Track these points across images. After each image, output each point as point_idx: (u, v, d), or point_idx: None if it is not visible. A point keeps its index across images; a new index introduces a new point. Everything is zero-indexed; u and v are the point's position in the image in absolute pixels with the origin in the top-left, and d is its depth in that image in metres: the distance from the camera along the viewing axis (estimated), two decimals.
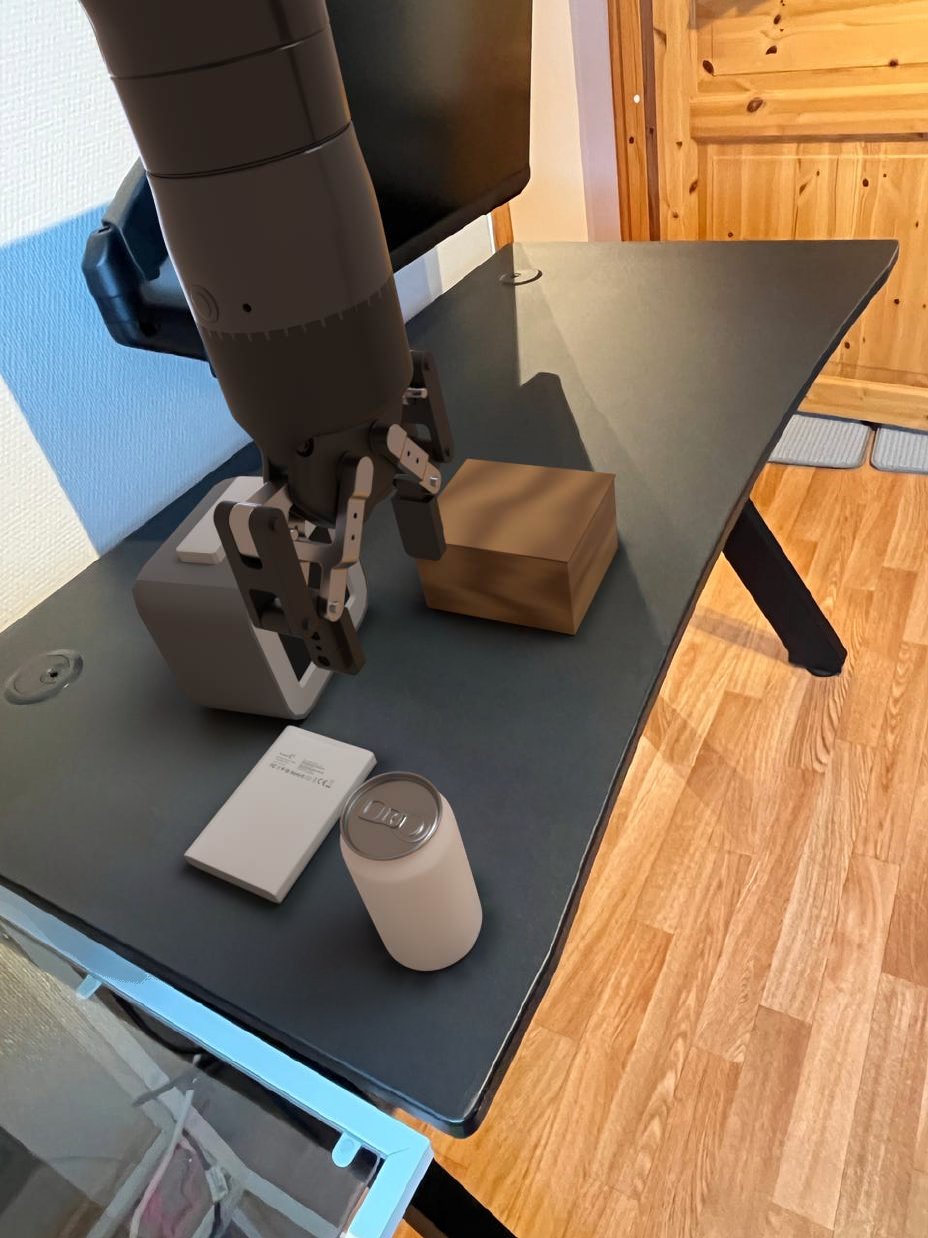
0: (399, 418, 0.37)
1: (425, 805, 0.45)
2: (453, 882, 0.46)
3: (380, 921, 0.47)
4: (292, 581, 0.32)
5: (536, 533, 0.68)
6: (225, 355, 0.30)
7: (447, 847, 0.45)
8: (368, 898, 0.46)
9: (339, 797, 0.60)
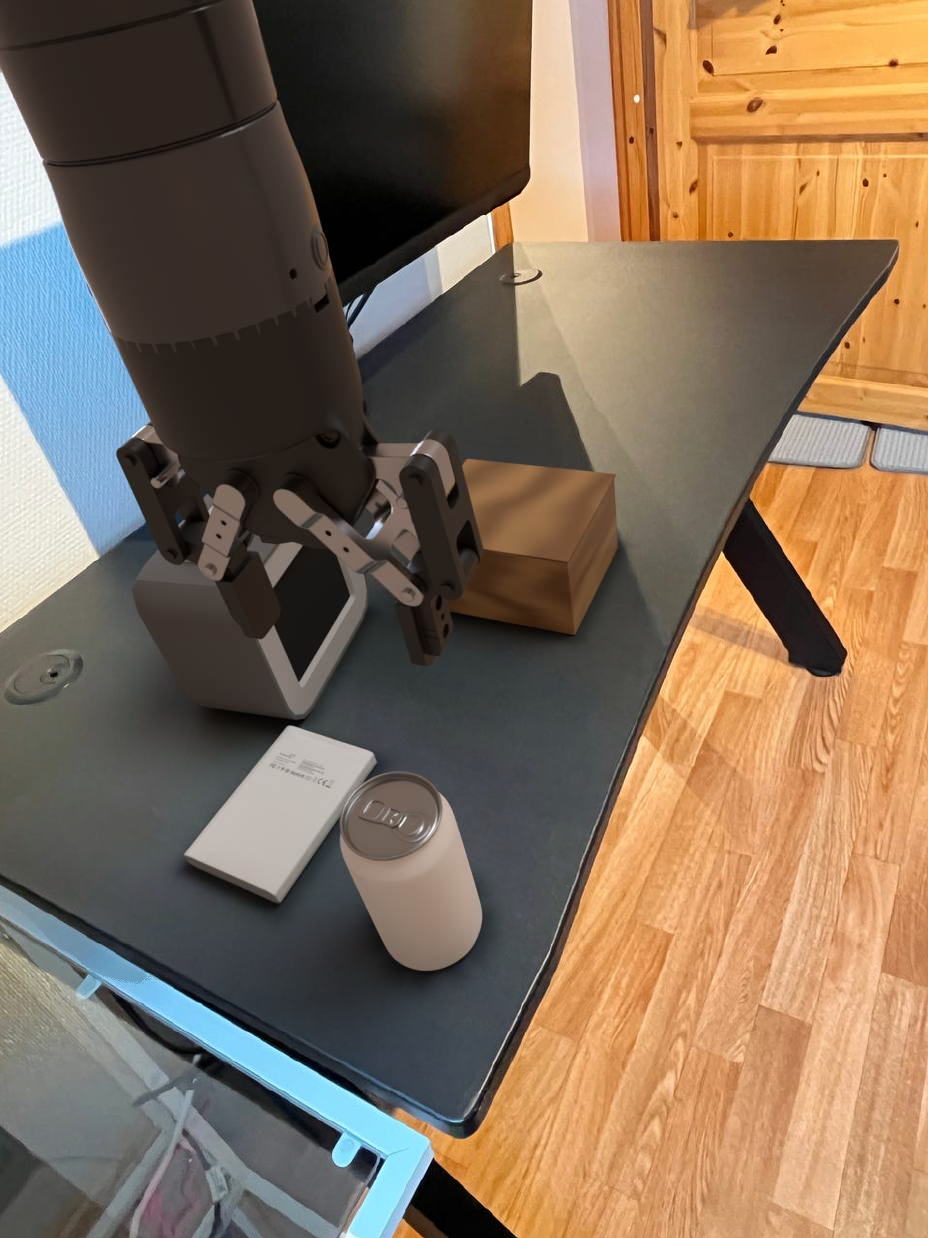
0: (345, 497, 0.30)
1: (425, 805, 0.45)
2: (453, 882, 0.46)
3: (380, 921, 0.47)
4: (150, 512, 0.35)
5: (536, 533, 0.68)
6: None
7: (447, 847, 0.45)
8: (368, 898, 0.46)
9: (339, 797, 0.60)
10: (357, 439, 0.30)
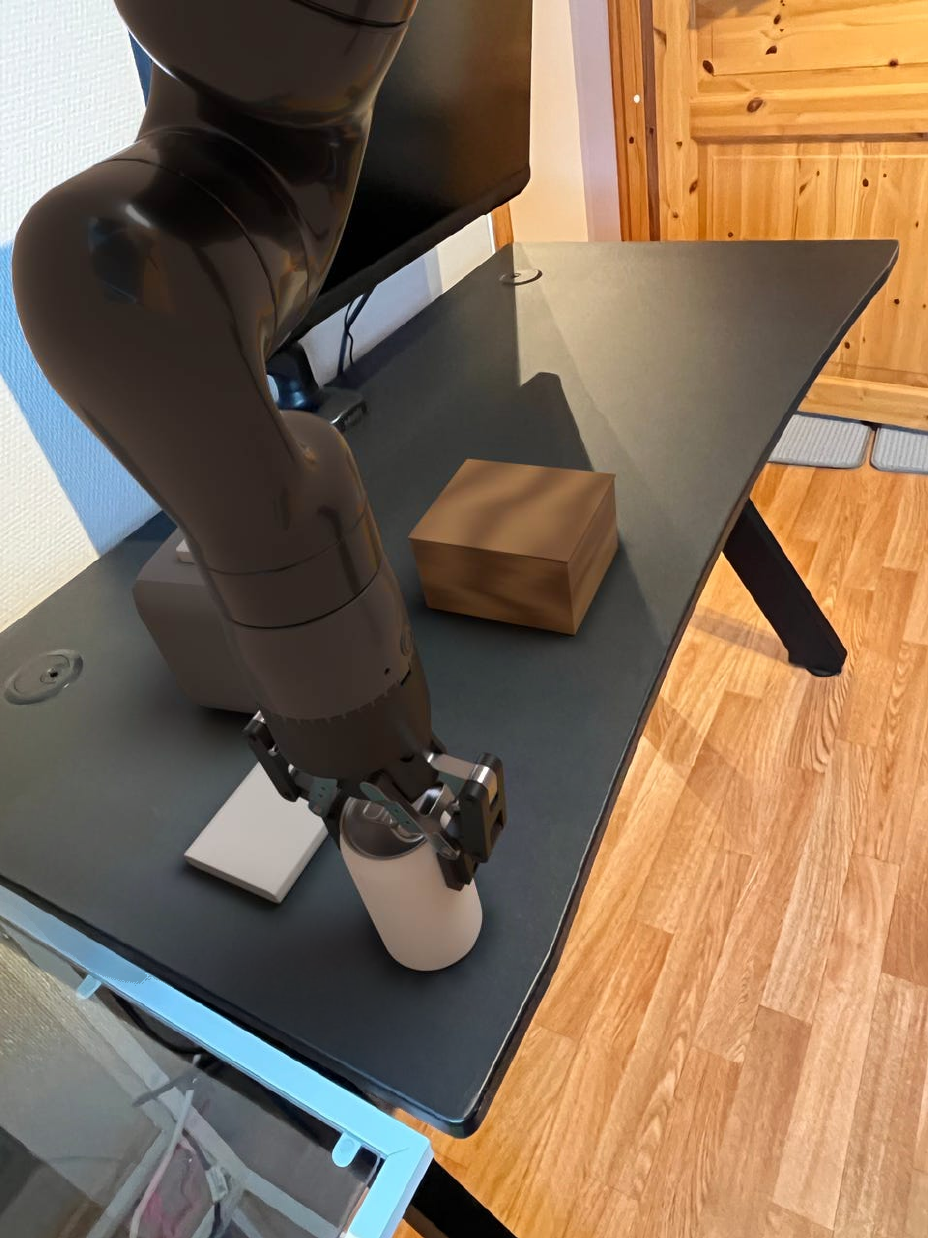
0: (414, 789, 0.40)
1: None
2: None
3: (380, 921, 0.47)
4: (269, 769, 0.45)
5: (536, 533, 0.68)
6: None
7: None
8: (368, 898, 0.46)
9: None
10: (426, 752, 0.39)
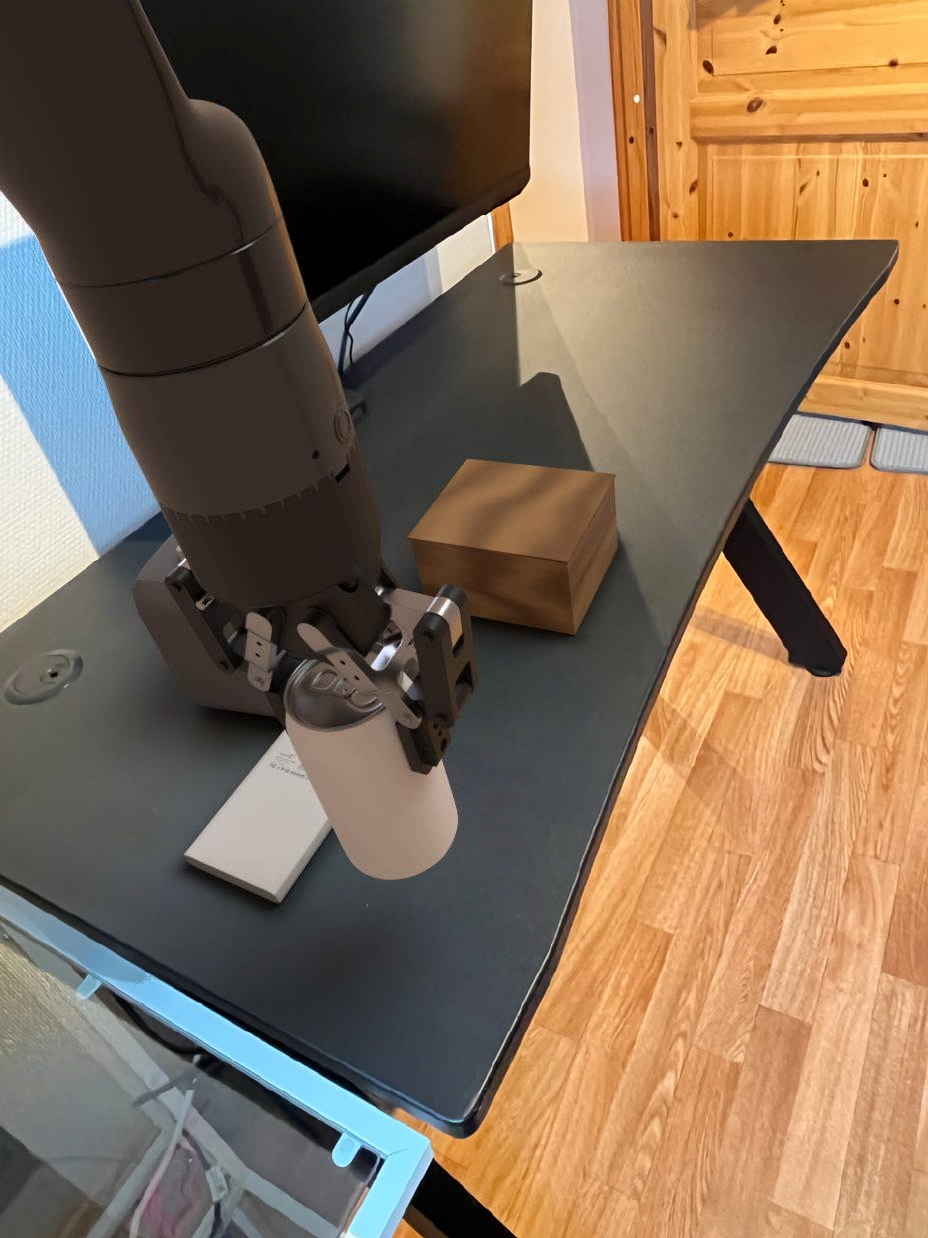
0: (362, 632, 0.33)
1: None
2: None
3: (335, 816, 0.41)
4: (200, 630, 0.38)
5: (536, 533, 0.68)
6: None
7: None
8: (319, 785, 0.39)
9: None
10: (374, 582, 0.32)
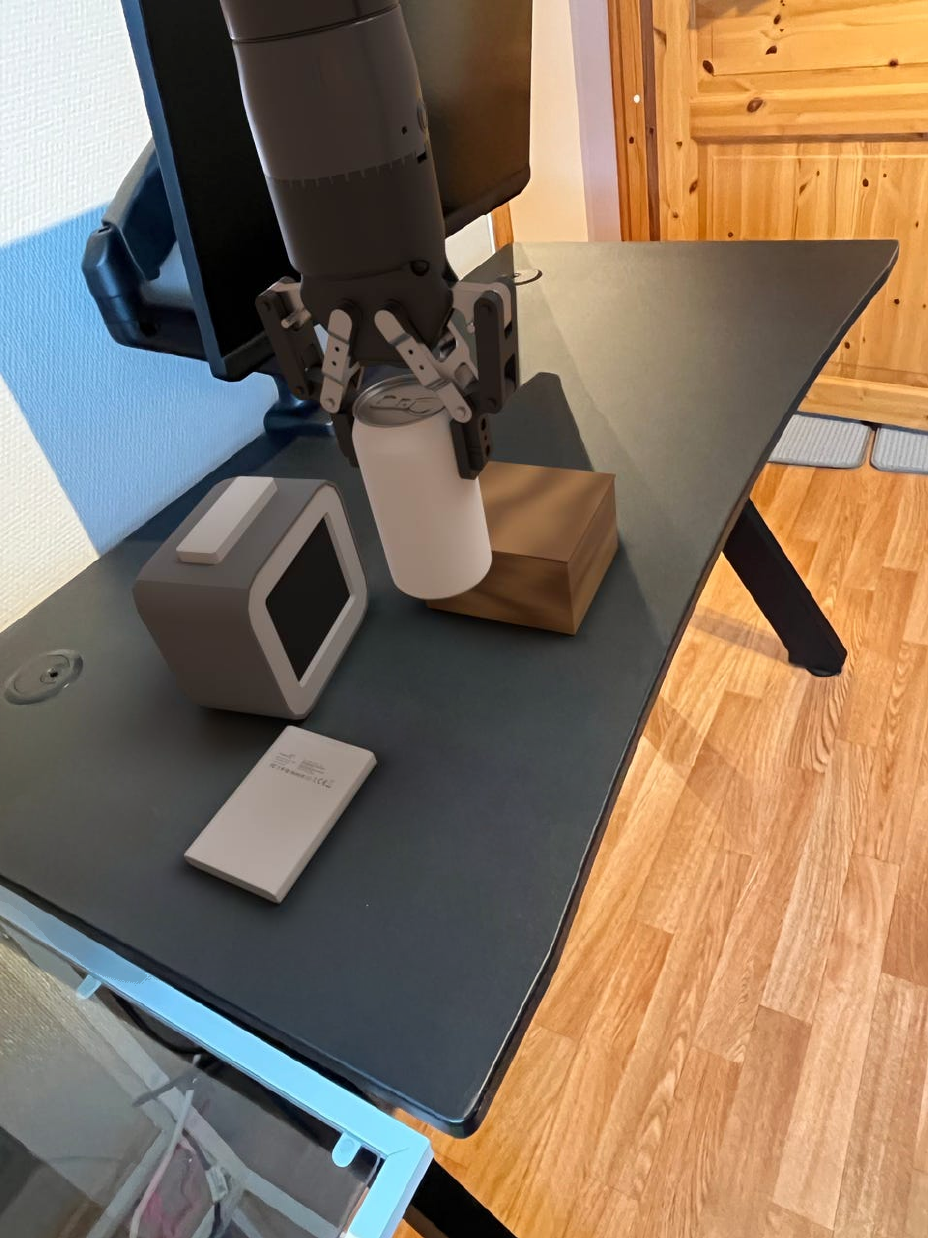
0: (429, 319, 0.40)
1: None
2: None
3: (392, 527, 0.48)
4: (282, 352, 0.45)
5: (536, 533, 0.68)
6: None
7: None
8: (381, 491, 0.46)
9: (339, 797, 0.60)
10: (440, 271, 0.39)
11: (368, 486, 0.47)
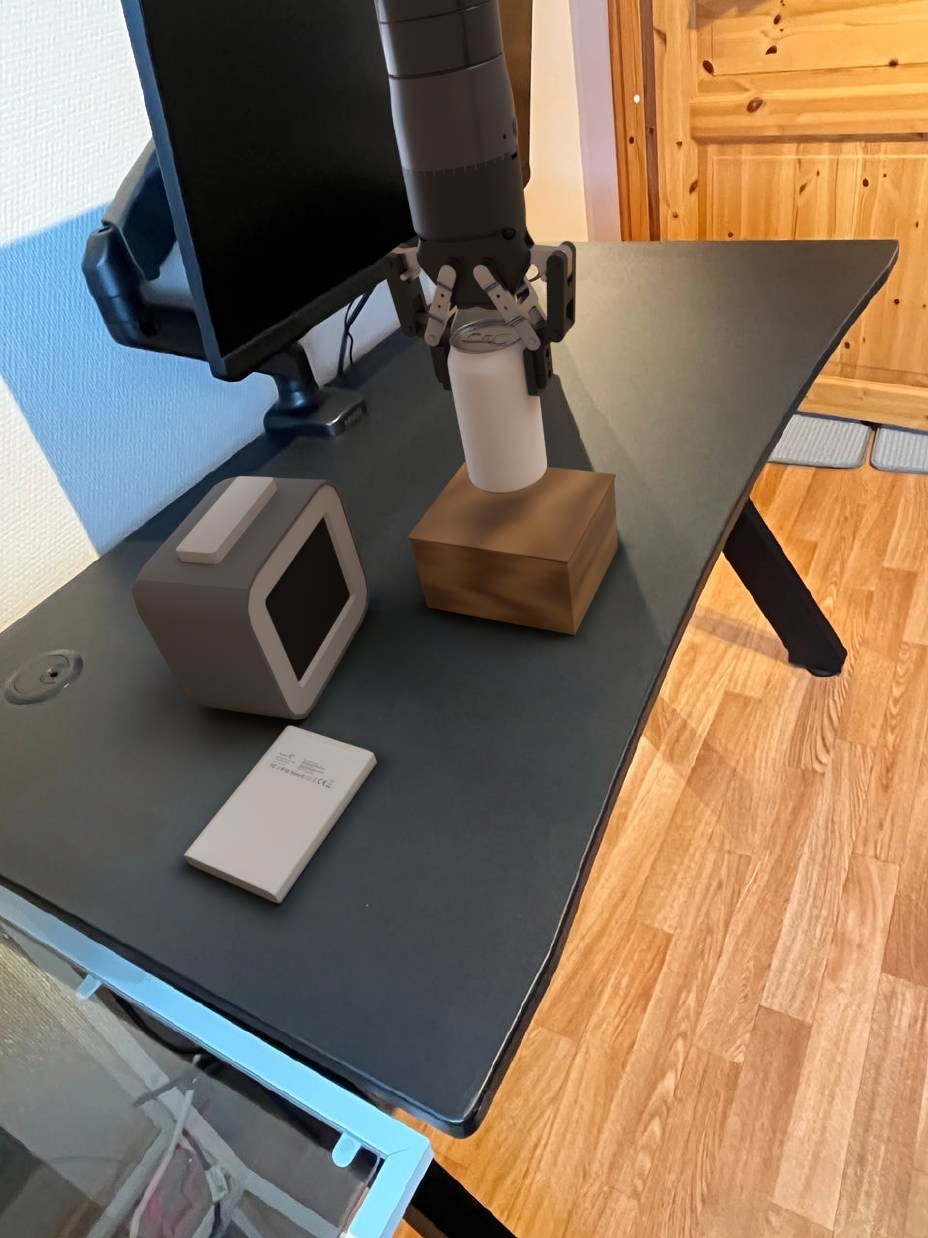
0: (513, 271, 0.56)
1: (511, 331, 0.62)
2: None
3: (475, 433, 0.64)
4: (398, 299, 0.61)
5: (536, 533, 0.68)
6: None
7: None
8: (469, 404, 0.62)
9: (339, 798, 0.60)
10: (522, 237, 0.55)
11: (458, 401, 0.63)
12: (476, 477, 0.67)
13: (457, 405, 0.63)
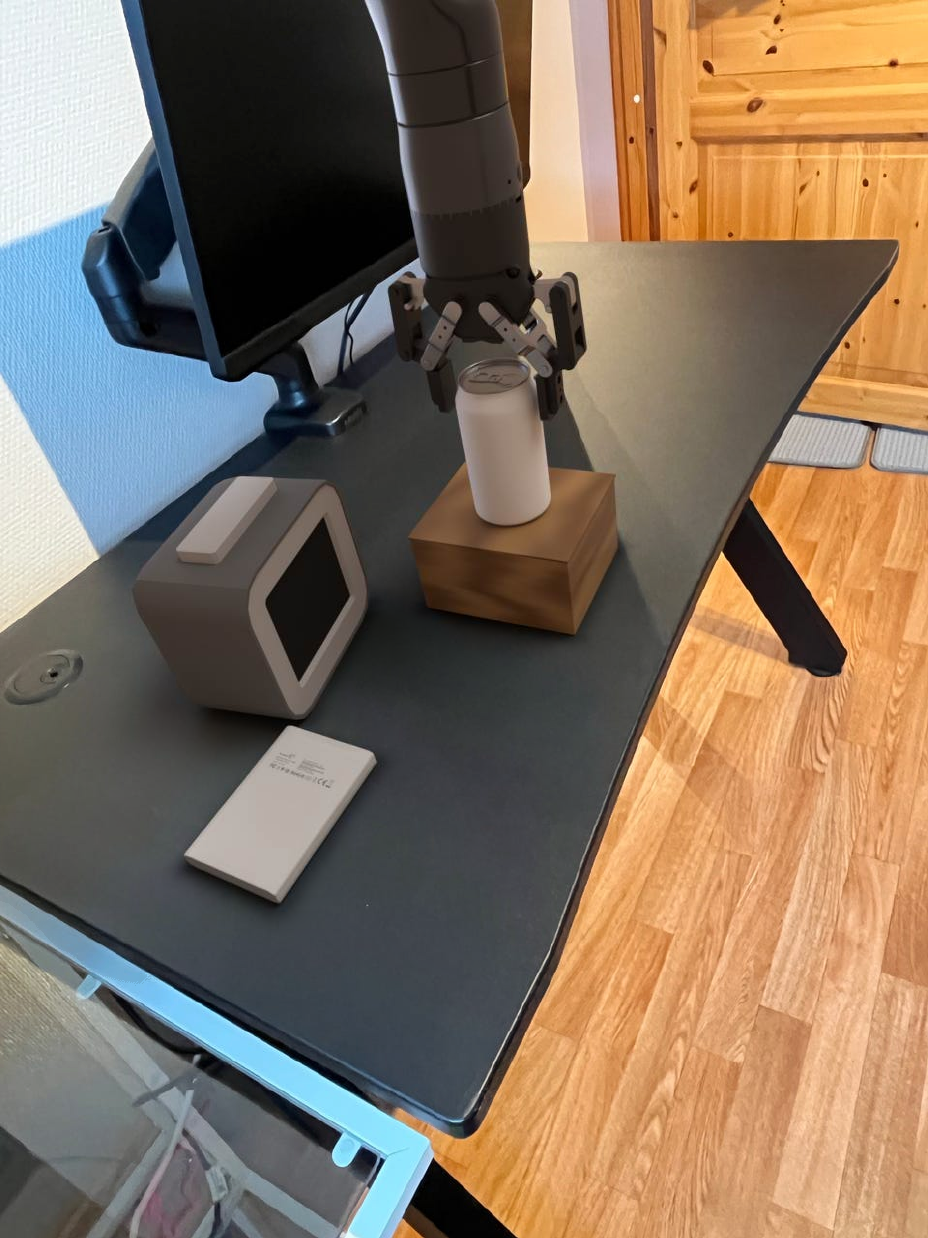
0: (517, 308, 0.58)
1: (517, 371, 0.64)
2: (536, 431, 0.64)
3: (482, 468, 0.66)
4: (399, 326, 0.62)
5: (536, 533, 0.68)
6: None
7: (534, 395, 0.63)
8: (476, 441, 0.64)
9: (339, 797, 0.60)
10: (526, 275, 0.57)
11: (466, 438, 0.65)
12: (482, 510, 0.69)
13: (464, 442, 0.66)
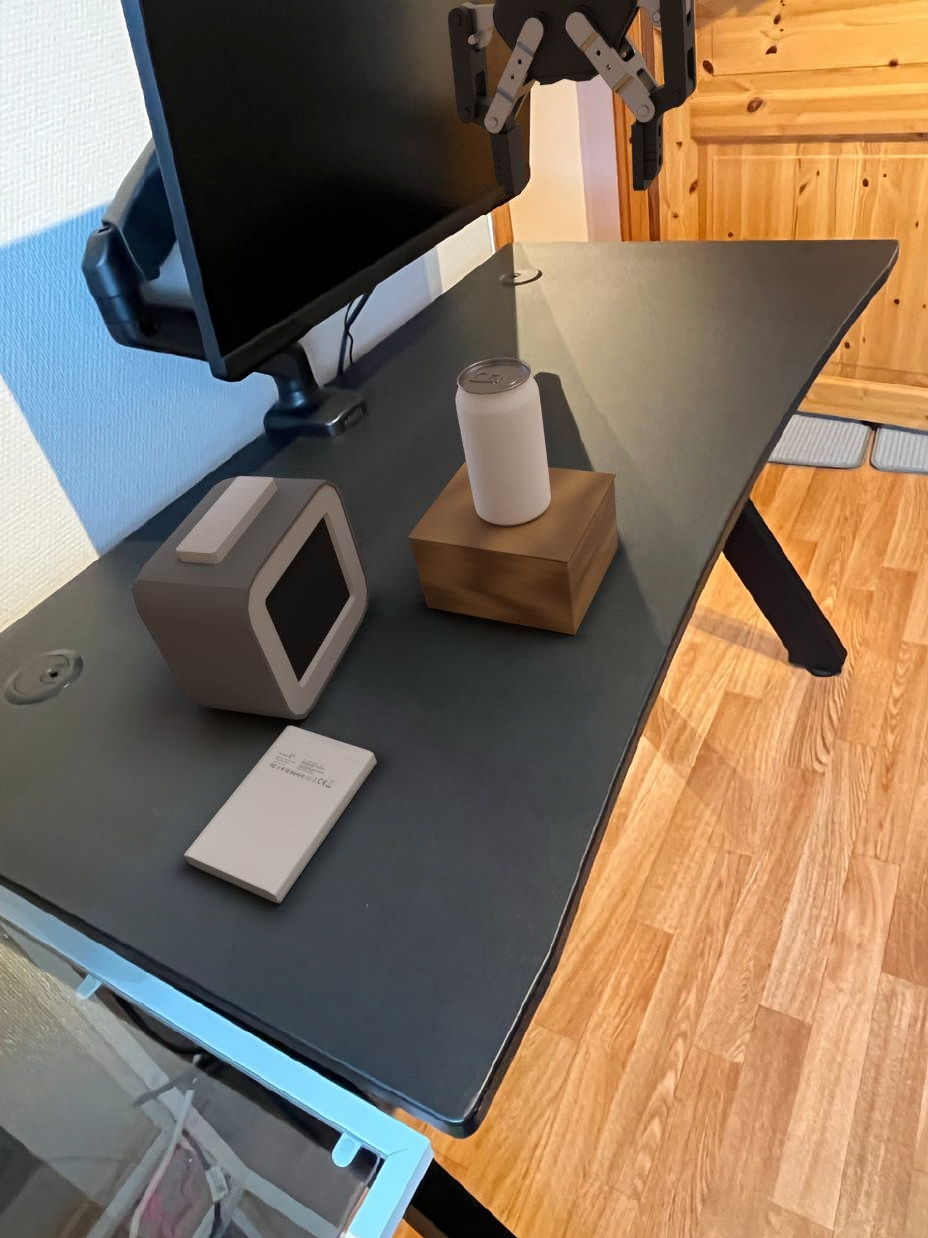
0: (614, 21, 0.46)
1: (517, 371, 0.64)
2: (536, 431, 0.64)
3: (482, 468, 0.66)
4: (460, 70, 0.51)
5: (536, 533, 0.68)
6: None
7: (534, 395, 0.63)
8: (476, 441, 0.64)
9: (339, 797, 0.60)
10: None
11: (466, 438, 0.65)
12: (482, 510, 0.69)
13: (464, 442, 0.66)
